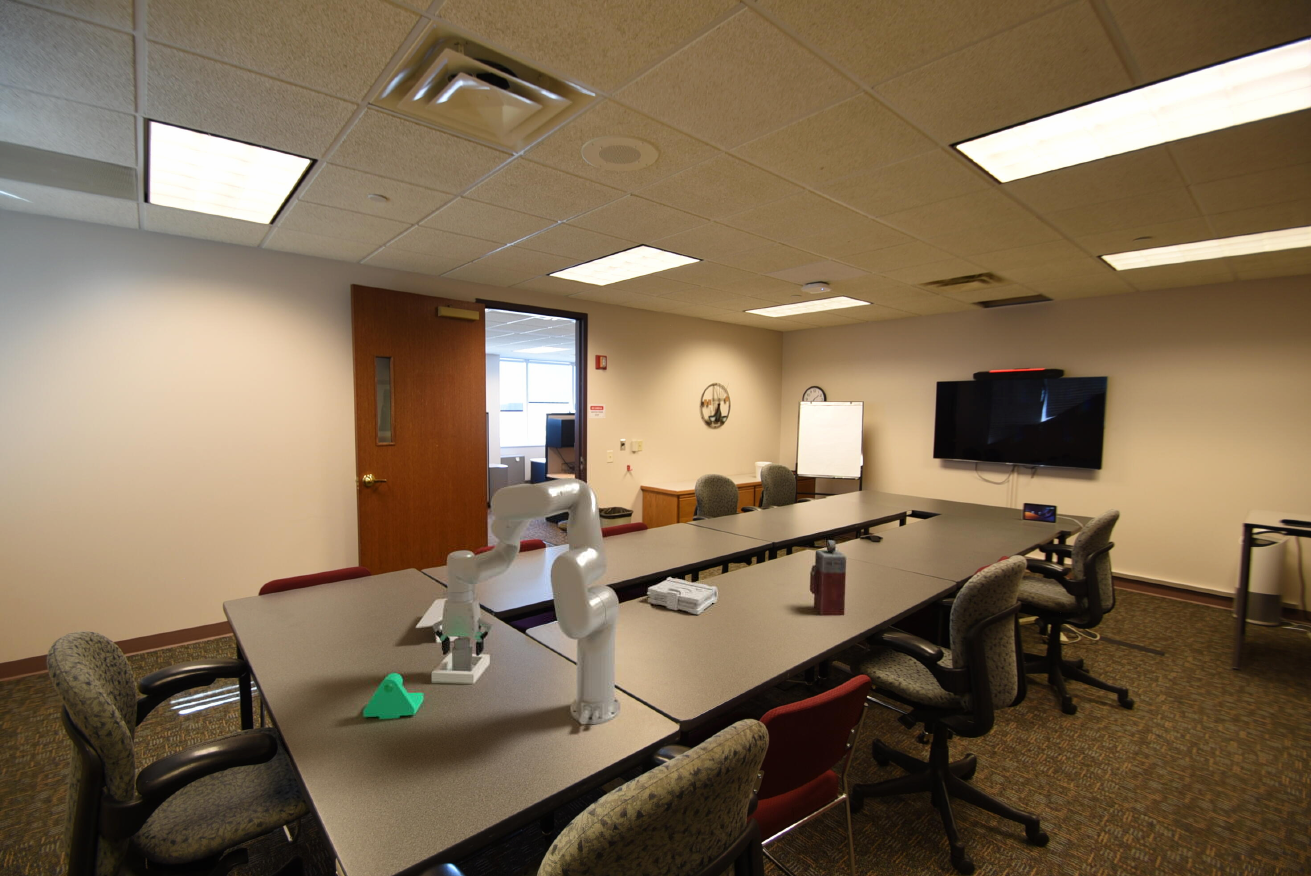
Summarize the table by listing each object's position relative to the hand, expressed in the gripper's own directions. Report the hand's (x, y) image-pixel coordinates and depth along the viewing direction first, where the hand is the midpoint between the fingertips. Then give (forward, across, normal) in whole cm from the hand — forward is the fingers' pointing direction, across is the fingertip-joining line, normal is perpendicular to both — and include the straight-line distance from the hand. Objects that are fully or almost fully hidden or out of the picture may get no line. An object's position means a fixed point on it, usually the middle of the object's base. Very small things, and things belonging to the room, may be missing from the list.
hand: (462, 653), depth 154 cm
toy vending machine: (+8, +118, +58) cm, 131 cm away
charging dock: (+6, -1, 0) cm, 6 cm away
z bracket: (+6, -20, +31) cm, 37 cm away
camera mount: (+6, -9, -20) cm, 23 cm away
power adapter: (+6, 0, 0) cm, 6 cm away
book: (+7, +61, +65) cm, 89 cm away
